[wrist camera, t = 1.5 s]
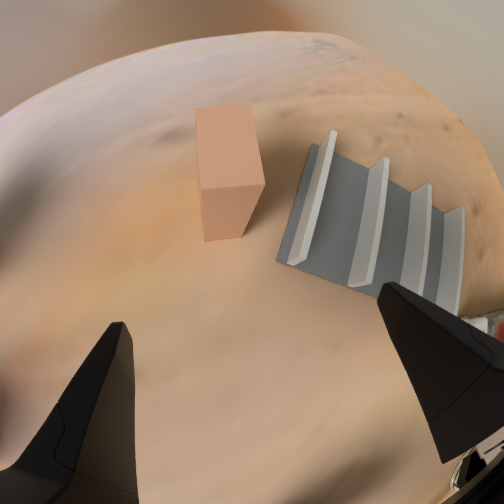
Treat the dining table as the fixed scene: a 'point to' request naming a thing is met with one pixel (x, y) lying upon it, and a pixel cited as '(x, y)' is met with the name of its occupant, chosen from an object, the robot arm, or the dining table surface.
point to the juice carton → (489, 323)
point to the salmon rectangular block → (227, 169)
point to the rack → (372, 230)
